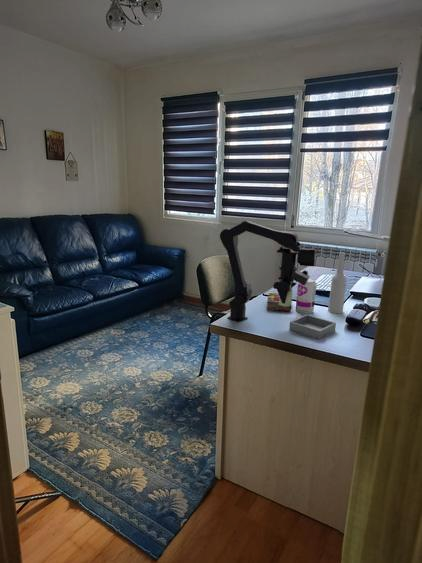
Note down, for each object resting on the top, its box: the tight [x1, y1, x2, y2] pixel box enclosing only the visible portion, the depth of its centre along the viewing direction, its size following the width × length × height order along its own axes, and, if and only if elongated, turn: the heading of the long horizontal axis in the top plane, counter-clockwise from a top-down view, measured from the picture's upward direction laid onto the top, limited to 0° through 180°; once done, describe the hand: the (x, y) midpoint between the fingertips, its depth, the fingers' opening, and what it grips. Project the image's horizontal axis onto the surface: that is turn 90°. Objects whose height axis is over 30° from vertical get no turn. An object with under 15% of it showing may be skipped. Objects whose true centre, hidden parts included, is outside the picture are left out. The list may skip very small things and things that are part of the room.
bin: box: [288, 314, 337, 340], centre depth 144 cm, size 13×13×4 cm
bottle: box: [327, 251, 347, 315], centre depth 166 cm, size 7×7×28 cm
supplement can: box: [295, 278, 317, 314], centre depth 167 cm, size 8×8×15 cm
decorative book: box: [266, 292, 293, 312], centre depth 173 cm, size 11×16×5 cm
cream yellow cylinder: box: [279, 290, 293, 307], centre depth 146 cm, size 5×5×6 cm
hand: (285, 301), depth 146 cm, fingers closed on cream yellow cylinder, 5 cm apart
